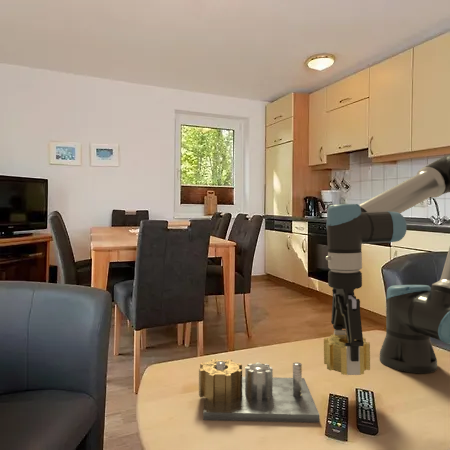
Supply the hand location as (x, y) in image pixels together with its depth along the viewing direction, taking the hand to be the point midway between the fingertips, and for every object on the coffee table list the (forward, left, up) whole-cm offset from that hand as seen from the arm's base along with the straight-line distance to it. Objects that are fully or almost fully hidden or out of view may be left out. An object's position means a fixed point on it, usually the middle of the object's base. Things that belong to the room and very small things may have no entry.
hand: (346, 364), depth 88 cm
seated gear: (+29, +2, -6) cm, 30 cm away
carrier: (+21, +2, -8) cm, 22 cm away
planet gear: (0, 0, 0) cm, 0 cm away
